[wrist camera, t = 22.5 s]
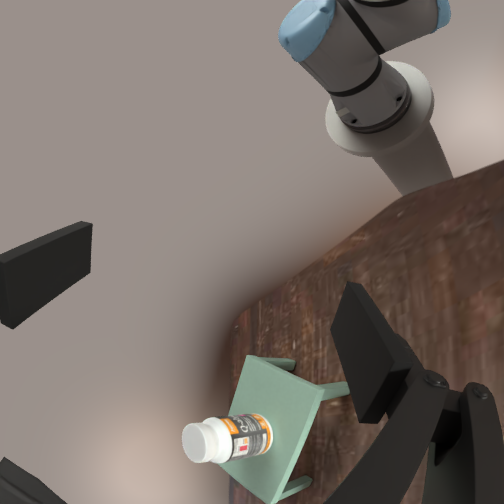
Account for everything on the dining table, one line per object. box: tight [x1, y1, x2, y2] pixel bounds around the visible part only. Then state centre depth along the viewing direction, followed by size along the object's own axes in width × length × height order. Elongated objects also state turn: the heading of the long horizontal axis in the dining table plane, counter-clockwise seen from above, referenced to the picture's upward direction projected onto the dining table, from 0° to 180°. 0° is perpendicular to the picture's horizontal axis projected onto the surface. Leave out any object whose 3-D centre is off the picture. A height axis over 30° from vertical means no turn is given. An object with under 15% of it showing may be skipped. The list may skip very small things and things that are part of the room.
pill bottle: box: [182, 413, 273, 463], centre depth 31 cm, size 6×6×10 cm
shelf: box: [217, 355, 350, 504], centre depth 37 cm, size 18×12×9 cm, turn 157°
